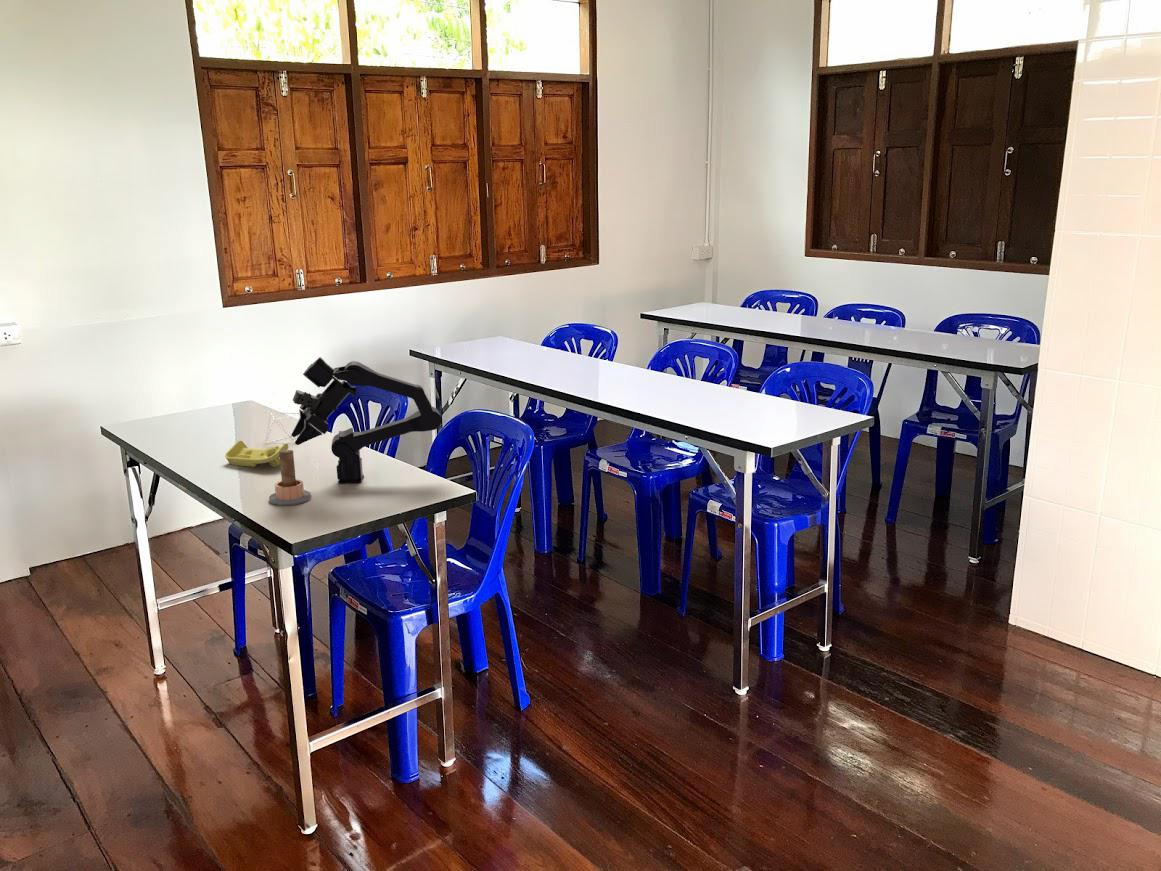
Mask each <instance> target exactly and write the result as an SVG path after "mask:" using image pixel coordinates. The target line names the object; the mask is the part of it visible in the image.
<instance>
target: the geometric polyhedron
mask: <svg viewBox="0 0 1161 871" xmlns="http://www.w3.org/2000/svg"><path fill="white" fill-rule="evenodd" d="M274 414H276V415H277V414H278V415H279V414H280V415H281V414H283V415H289V416H284V417H280V418H276V416H275V415H274ZM271 416H272V417H271ZM296 416H300V412H298V413H297V412H270V414H269V420H268V423H267V424H268V426H267V431H266V436H265V441H264V443H265V444H270V443H272V444H273V445H274V444H281V445H282V444H284V443H285V442H275V441H280V440H283V439H288V438H290V439H291V440H292V442H294V443H291V442H289V443H288V442H286V443H287V444H288V445H296V444H295V441H296V440H295V437H293V436H292V435H291V434H292V433H290V432H289V431H288V430H287V429H286V427H285V426H284V425H283V424H282V423H281V422H280V421H279V420H283V419H287V418H291V417H296ZM271 419H273V423H272V425H271V427H270V423H271ZM299 419H300V417H299V418H298V420H297V422H298V421H299ZM275 423H276V424H277V425H278V426H279V427H280V428H281V429H282V430H283V431H284V432H285V433H286V434H287V436H286V437H283V438H277V439H274V440H271V441H268V439H269V436H270V433H271V431H272V428H273V426H274V424H275ZM269 428H270V430H269ZM298 436H299V435H298ZM298 436H296V439H297V438H298Z"/></svg>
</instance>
